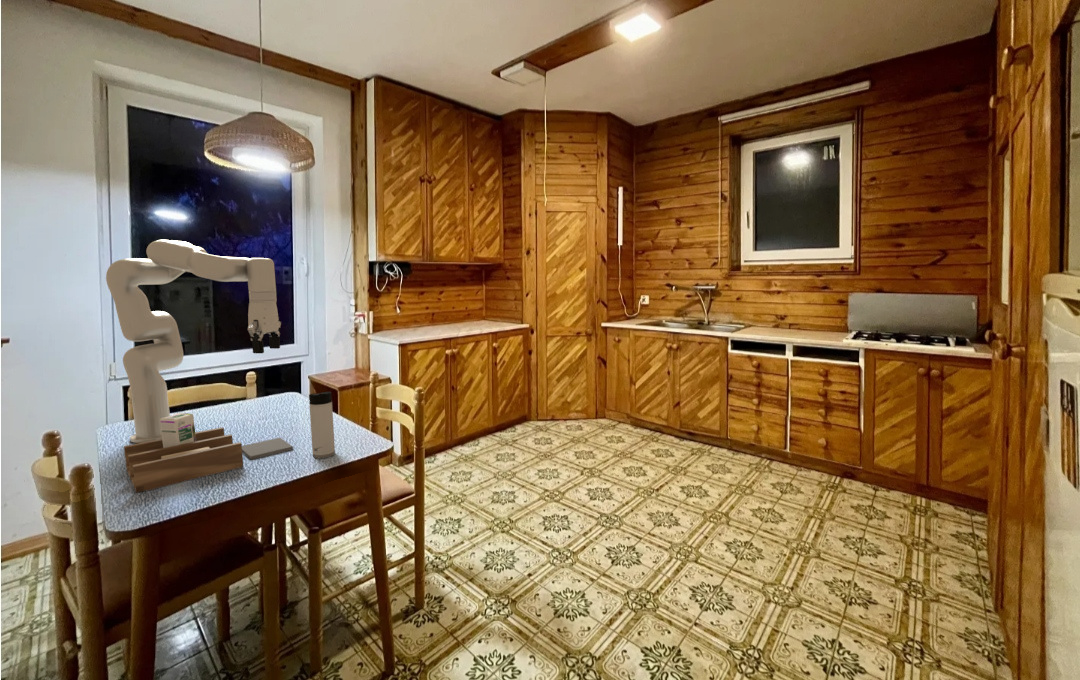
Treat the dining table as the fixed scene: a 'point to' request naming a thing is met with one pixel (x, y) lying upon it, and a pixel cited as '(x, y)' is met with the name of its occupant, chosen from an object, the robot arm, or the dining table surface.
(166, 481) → the walnut rack
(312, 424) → the travel mug
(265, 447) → the rubber mat
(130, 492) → the dining table surface
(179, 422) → the syrup box
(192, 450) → the upper offcut
